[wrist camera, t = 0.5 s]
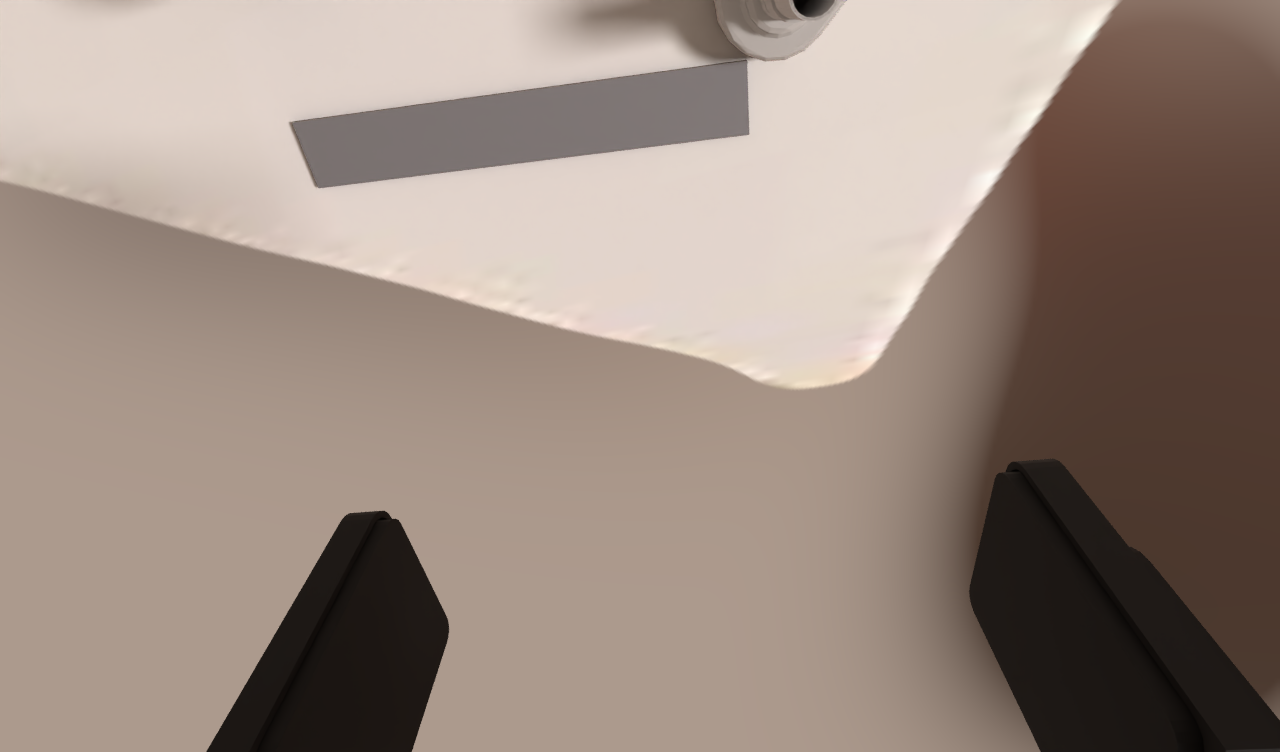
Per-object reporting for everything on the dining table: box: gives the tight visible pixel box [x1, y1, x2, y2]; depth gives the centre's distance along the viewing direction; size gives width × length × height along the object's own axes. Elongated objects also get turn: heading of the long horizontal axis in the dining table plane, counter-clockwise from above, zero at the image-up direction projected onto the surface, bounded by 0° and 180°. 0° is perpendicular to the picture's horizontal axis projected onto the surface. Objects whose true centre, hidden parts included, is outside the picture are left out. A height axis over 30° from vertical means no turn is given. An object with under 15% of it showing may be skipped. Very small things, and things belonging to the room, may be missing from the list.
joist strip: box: [292, 60, 749, 188], centre depth 33 cm, size 4×24×1 cm, turn 97°
